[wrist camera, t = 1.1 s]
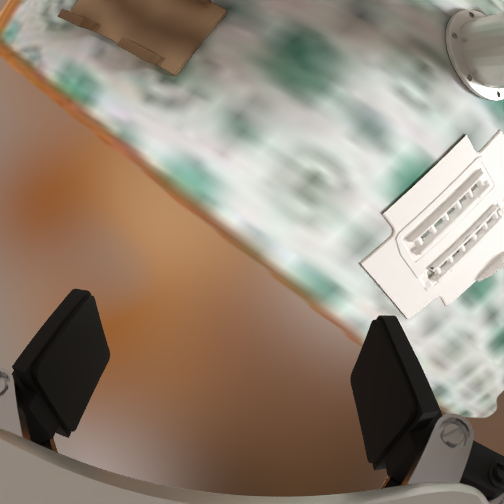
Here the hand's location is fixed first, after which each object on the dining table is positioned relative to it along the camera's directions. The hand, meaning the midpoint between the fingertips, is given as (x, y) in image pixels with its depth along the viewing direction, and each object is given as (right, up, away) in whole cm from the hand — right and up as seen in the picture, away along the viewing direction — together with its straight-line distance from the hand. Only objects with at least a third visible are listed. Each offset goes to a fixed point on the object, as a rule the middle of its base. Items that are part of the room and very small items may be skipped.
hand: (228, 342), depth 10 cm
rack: (-12, +30, +14) cm, 35 cm away
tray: (+29, +6, +25) cm, 39 cm away
